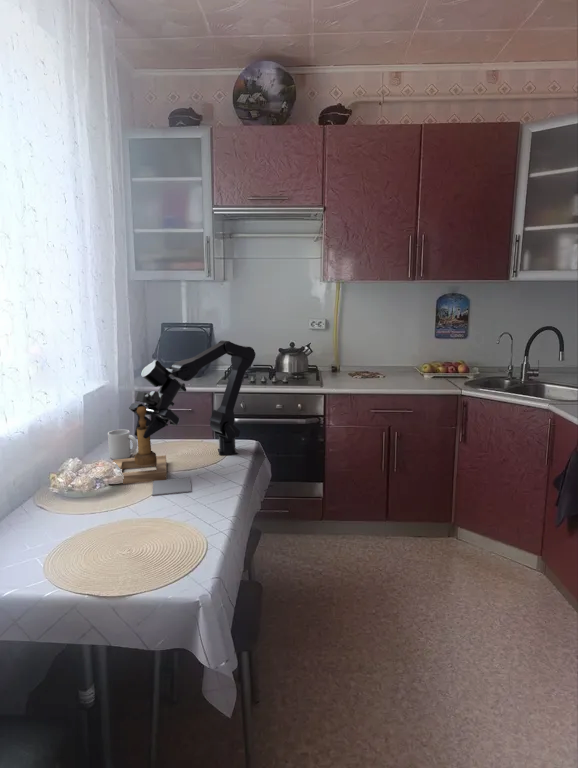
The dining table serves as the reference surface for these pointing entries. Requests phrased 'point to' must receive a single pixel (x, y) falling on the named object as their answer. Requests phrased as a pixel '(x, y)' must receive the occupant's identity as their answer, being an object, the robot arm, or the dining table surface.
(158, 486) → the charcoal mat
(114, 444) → the cup
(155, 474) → the walnut holder
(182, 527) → the dining table surface
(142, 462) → the wooden pepper mill
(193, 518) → the dining table surface
